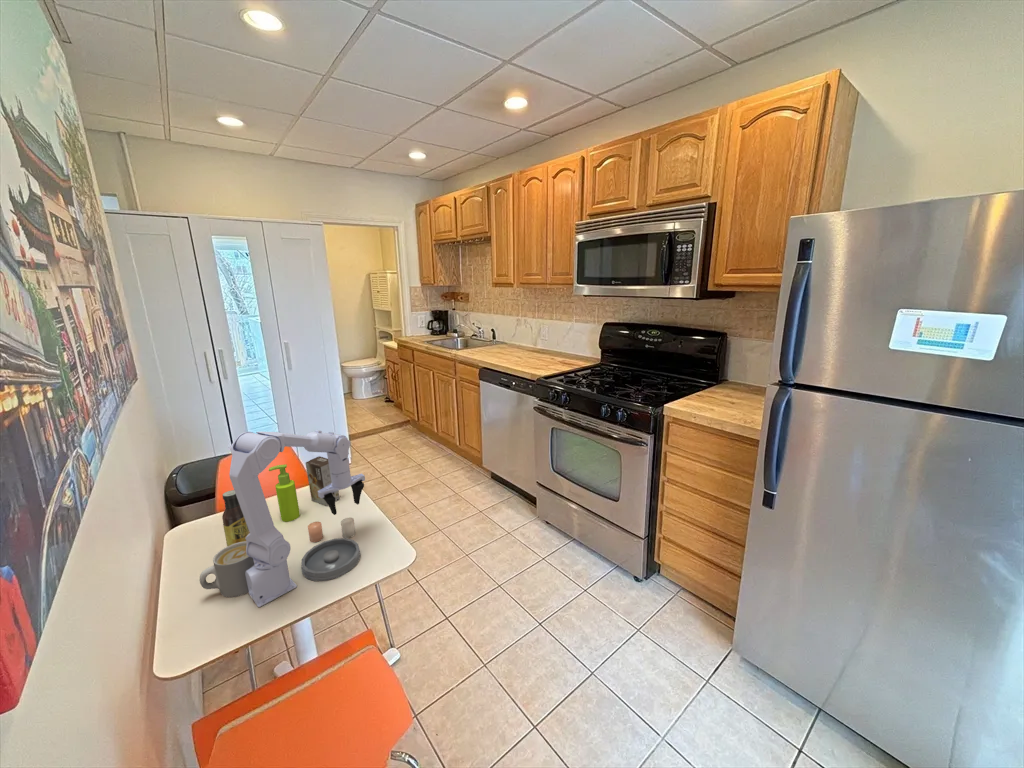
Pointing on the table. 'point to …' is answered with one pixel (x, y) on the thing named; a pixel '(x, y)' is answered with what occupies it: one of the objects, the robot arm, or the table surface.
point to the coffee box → (319, 478)
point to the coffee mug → (229, 571)
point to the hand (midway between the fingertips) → (345, 508)
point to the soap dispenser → (286, 495)
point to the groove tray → (332, 569)
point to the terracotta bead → (315, 532)
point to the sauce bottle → (233, 520)
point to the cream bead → (348, 527)
